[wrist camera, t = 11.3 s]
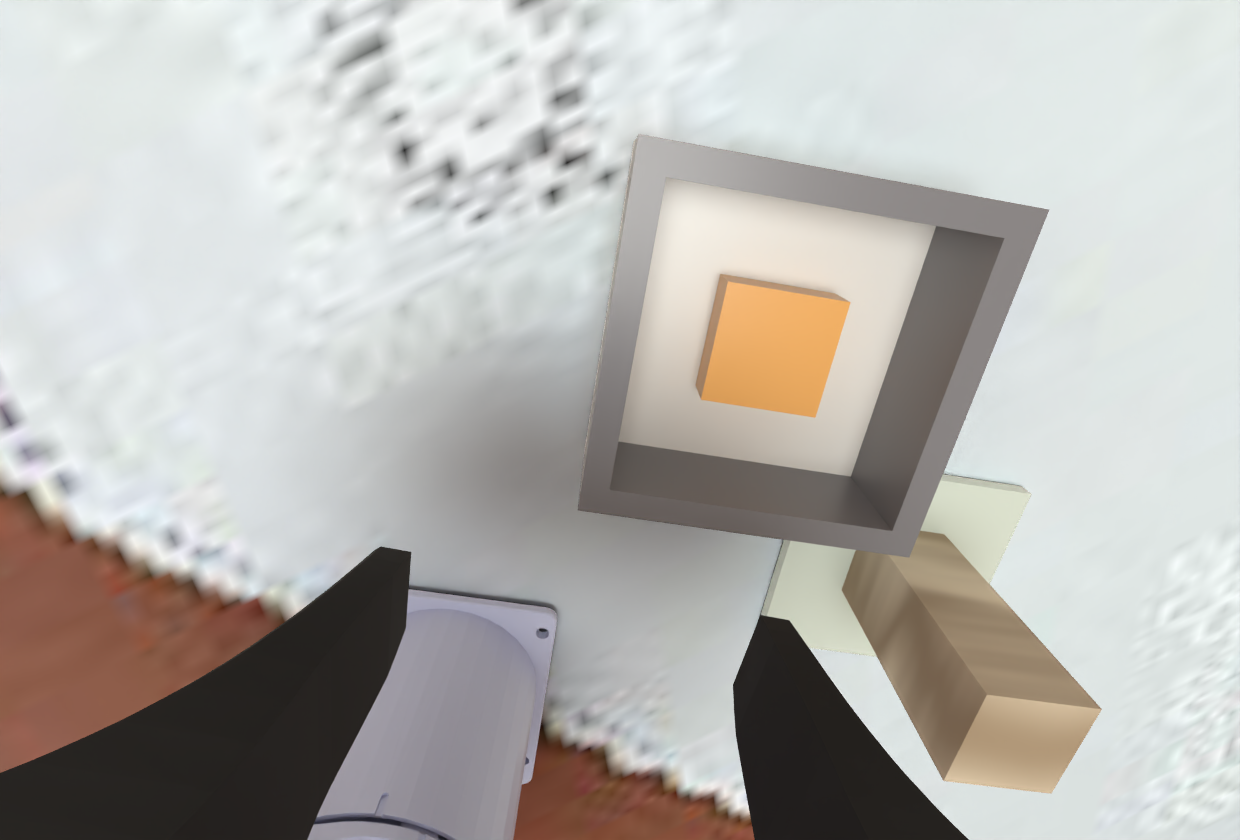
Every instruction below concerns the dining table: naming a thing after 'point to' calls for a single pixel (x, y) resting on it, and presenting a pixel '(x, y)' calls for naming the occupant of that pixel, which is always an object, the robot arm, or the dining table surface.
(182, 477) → the dining table surface
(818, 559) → the sage tile
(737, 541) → the dining table surface
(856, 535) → the switch box
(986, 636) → the tan wooden block
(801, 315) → the button
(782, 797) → the robot arm
